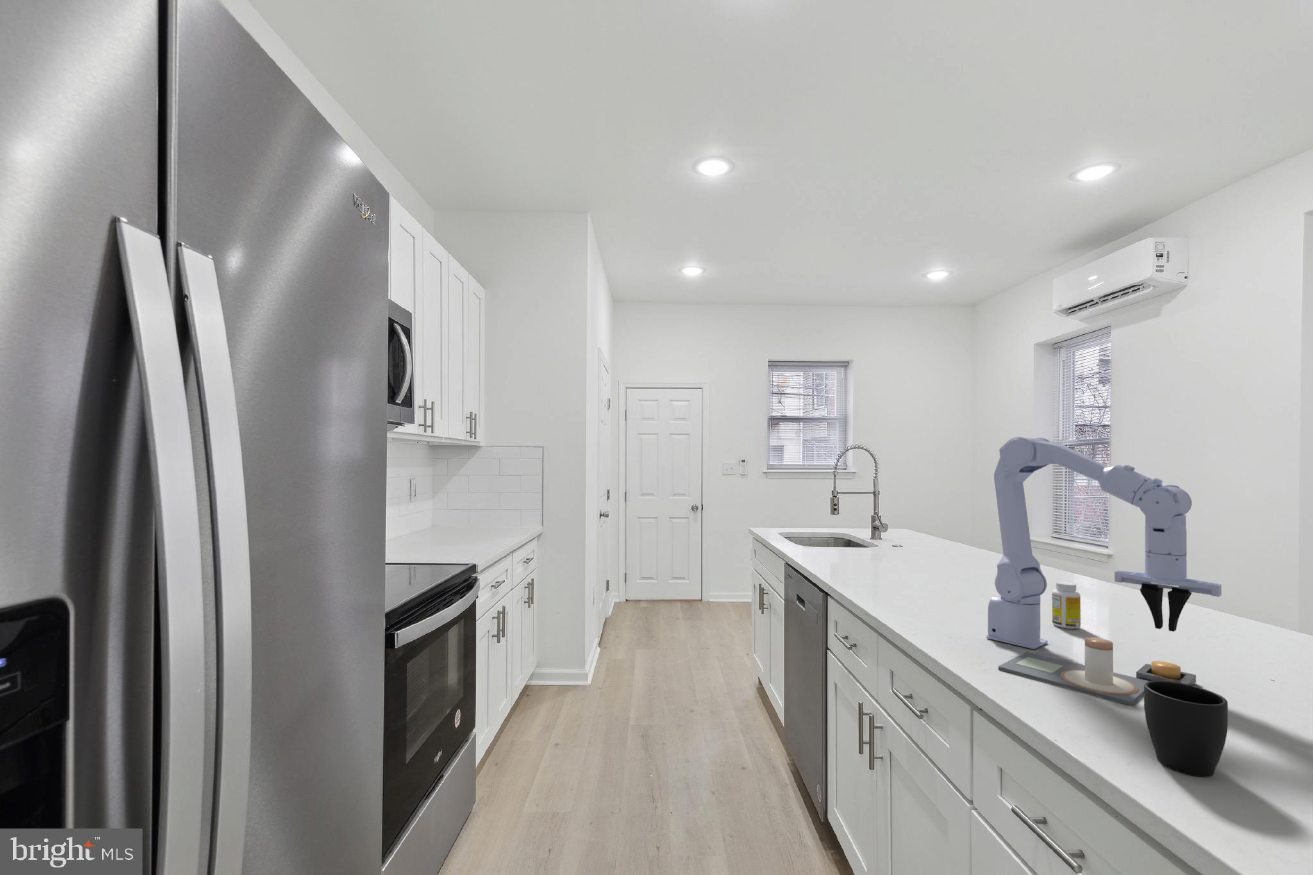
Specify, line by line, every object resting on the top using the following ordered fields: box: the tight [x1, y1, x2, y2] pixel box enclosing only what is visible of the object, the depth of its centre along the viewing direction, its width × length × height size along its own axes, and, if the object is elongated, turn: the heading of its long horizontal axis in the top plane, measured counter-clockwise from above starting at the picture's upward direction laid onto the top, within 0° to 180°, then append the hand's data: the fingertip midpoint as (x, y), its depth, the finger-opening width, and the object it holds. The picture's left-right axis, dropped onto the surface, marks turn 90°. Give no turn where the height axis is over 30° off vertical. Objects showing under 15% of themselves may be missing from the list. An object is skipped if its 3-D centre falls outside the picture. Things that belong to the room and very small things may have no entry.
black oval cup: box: [1143, 680, 1229, 778], centre depth 79 cm, size 8×12×10 cm
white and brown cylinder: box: [1084, 636, 1114, 686], centre depth 105 cm, size 4×4×7 cm
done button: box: [1150, 660, 1182, 679], centre depth 107 cm, size 4×4×2 cm
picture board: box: [997, 651, 1149, 707], centre depth 109 cm, size 20×14×1 cm
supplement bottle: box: [1051, 580, 1082, 630], centre depth 141 cm, size 6×6×10 cm
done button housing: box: [1135, 663, 1197, 686], centre depth 107 cm, size 7×7×2 cm
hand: (1165, 629), depth 107 cm, fingers closed
